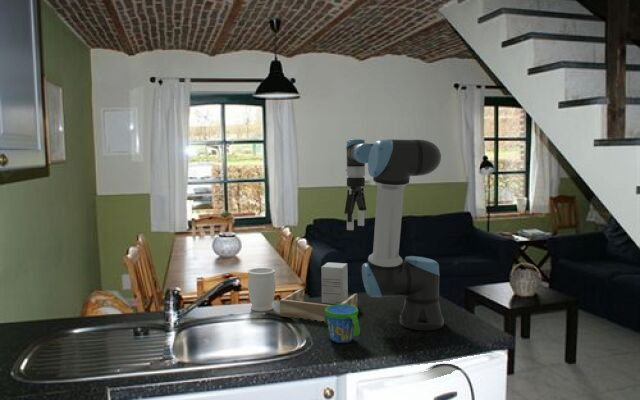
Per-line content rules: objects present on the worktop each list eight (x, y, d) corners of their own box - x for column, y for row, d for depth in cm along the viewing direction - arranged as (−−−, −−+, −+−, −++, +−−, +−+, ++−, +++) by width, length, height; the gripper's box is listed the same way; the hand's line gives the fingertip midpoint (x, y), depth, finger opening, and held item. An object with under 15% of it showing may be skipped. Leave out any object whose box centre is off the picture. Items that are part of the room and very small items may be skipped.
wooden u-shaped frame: (301, 302, 207) (301, 287, 207) (357, 309, 198) (357, 293, 197) (280, 316, 190) (279, 300, 190) (339, 323, 181) (339, 307, 180)
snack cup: (369, 344, 161) (369, 312, 160) (340, 350, 156) (340, 318, 155) (342, 329, 175) (342, 300, 174) (315, 335, 169) (315, 305, 169)
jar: (243, 311, 196) (242, 272, 195) (254, 303, 206) (254, 266, 205) (269, 313, 193) (269, 274, 192) (279, 306, 203) (279, 268, 201)
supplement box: (327, 297, 215) (327, 261, 213) (348, 298, 212) (348, 263, 211) (320, 303, 206) (320, 266, 205) (342, 305, 203) (342, 267, 202)
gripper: (357, 175, 226) (357, 223, 228) (336, 178, 203) (336, 231, 205) (373, 175, 223) (373, 224, 225) (354, 178, 200) (354, 232, 202)
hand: (355, 227), depth 215 cm, fingers open, 13 cm apart
